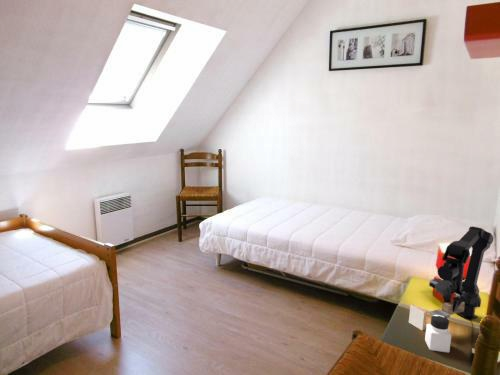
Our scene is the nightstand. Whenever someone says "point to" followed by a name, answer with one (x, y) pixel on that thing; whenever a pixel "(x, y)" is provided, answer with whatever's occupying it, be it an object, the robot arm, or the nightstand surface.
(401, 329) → the nightstand surface
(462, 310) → the turner
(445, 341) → the medicine bottle
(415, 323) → the tile
